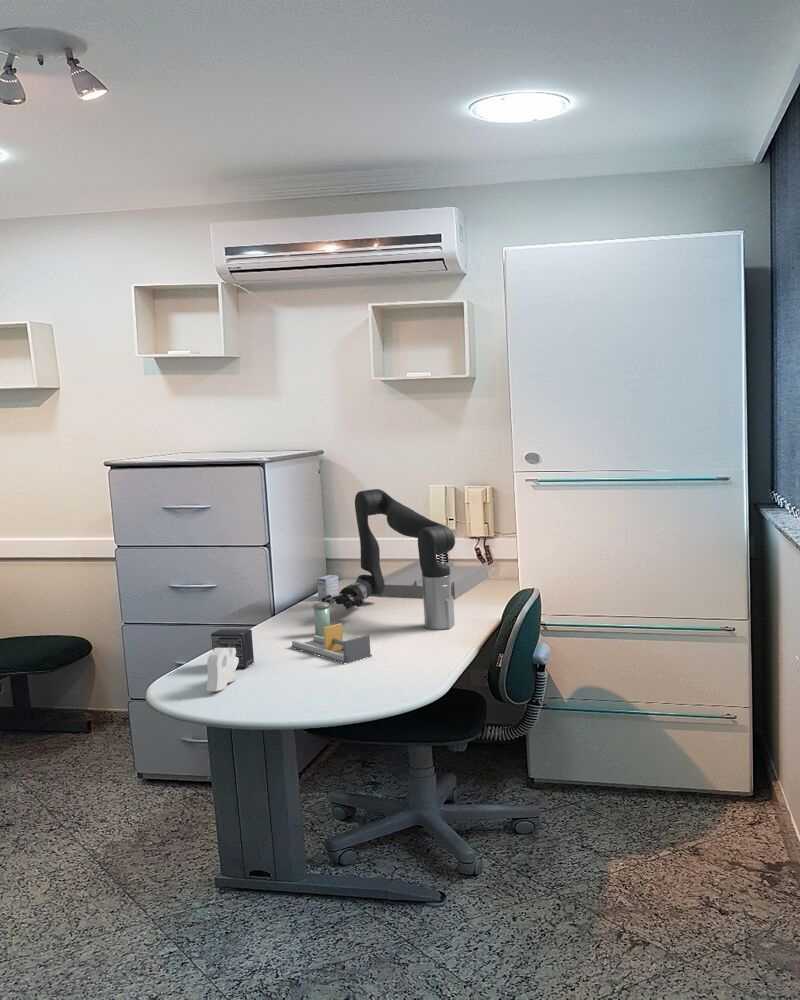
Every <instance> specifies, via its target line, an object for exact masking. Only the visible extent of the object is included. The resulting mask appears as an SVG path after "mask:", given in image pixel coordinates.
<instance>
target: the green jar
mask: <svg viewBox="0 0 800 1000" xmlns="http://www.w3.org/2000/svg"><path fill="white" fill-rule="evenodd" d="M312 604H313V605H312V606H313V607H312V608H313V615H314V617H313V619H314V630H315V631H314V633H315V634H314V635H317V636H322V637H324V634H323V627H327V626H331V619H330V618H331V616H330V606H329V604H330V603H328V602H322V601H320V602H315V603H312Z"/></svg>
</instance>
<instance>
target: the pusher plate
mask: <svg viewBox="0 0 800 1000" xmlns="http://www.w3.org/2000/svg"><path fill="white" fill-rule="evenodd" d="M343 630H344V629H343V624H342V622H341V623H340V622H339V623H337V624H332V625H331V624H330V626H327V627H323V634H324V636H323V637H324V649H326V650H329V651H332V652H334V651H338V650H341V649H344V648H343V641H345V640H344V631H343Z"/></svg>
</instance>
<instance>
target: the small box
mask: <svg viewBox="0 0 800 1000" xmlns="http://www.w3.org/2000/svg"><path fill="white" fill-rule="evenodd" d="M252 631H253V629H252V628H251V629H243V628H242V629H237V628H236V629H235V628H234V629H232V628H231V629H230V628H229V629H227V628H225V629H224V628H222V629H221V628H220V629H218V630H216V631H213V632H212V633H210V637H211V645H212V646H211V647H212V651H213V650H214V648H235V649H236V655H235V657H238V659H239V663H238V665H237V668H246V669H248V668H249V667H250V666H249V665H251V664H252V663H254V664H255V657H254V656H255V655H254V647H253V646H254V645H253V632H252ZM252 665H253V664H252ZM252 665H251V666H252ZM248 666H249V667H248ZM247 667H248V668H247Z"/></svg>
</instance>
